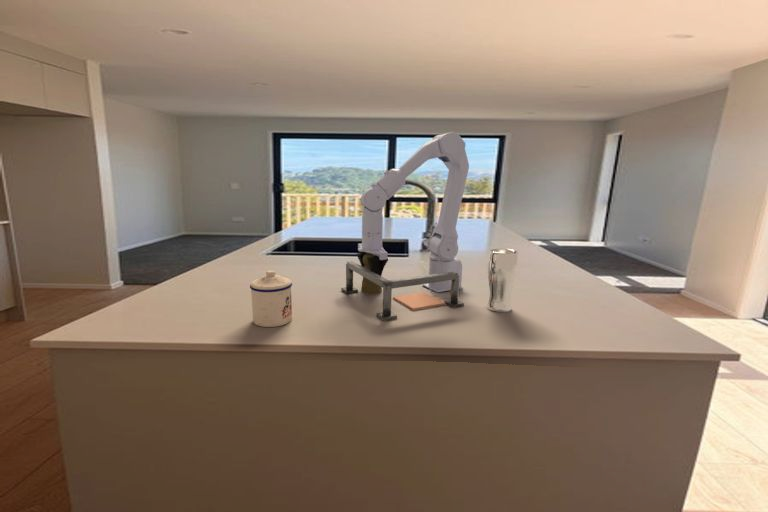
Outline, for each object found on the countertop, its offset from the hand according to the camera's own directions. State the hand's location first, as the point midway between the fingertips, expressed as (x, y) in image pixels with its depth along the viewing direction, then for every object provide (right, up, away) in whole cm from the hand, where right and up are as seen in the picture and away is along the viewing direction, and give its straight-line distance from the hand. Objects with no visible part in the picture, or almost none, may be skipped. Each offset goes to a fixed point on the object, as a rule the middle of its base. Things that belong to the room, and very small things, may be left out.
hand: (371, 279), depth 112 cm
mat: (+13, -6, -8) cm, 16 cm away
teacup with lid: (-22, -8, -21) cm, 32 cm away
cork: (0, -4, +1) cm, 4 cm away
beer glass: (+33, -7, -12) cm, 36 cm away
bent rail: (+8, -5, -5) cm, 10 cm away
